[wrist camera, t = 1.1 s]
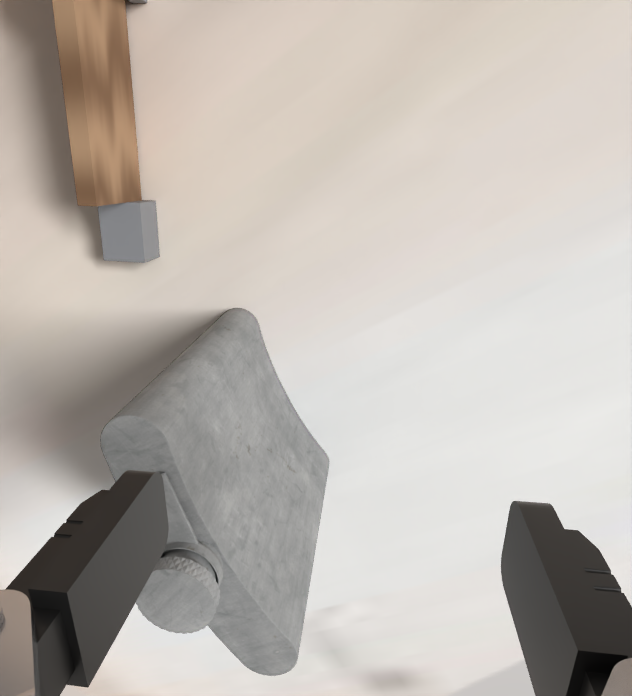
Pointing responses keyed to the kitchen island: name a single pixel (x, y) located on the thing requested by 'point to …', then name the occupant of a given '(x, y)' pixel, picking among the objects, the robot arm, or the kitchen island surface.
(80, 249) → the kitchen island surface
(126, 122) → the gate
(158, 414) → the hip flask
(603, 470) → the kitchen island surface
